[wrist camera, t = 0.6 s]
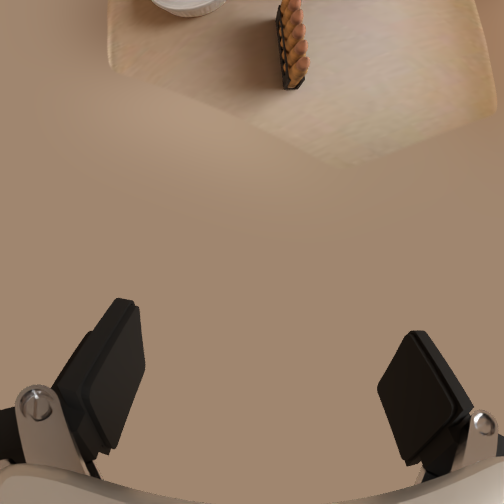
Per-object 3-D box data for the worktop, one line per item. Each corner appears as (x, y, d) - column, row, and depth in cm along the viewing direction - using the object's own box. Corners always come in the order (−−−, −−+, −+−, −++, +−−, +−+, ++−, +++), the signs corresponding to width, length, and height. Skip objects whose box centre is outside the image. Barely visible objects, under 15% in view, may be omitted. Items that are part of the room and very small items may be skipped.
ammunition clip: (275, 19, 27) (284, -25, 16) (289, 18, 27) (303, -24, 16) (283, 89, 31) (297, 67, 20) (298, 89, 31) (318, 67, 20)
